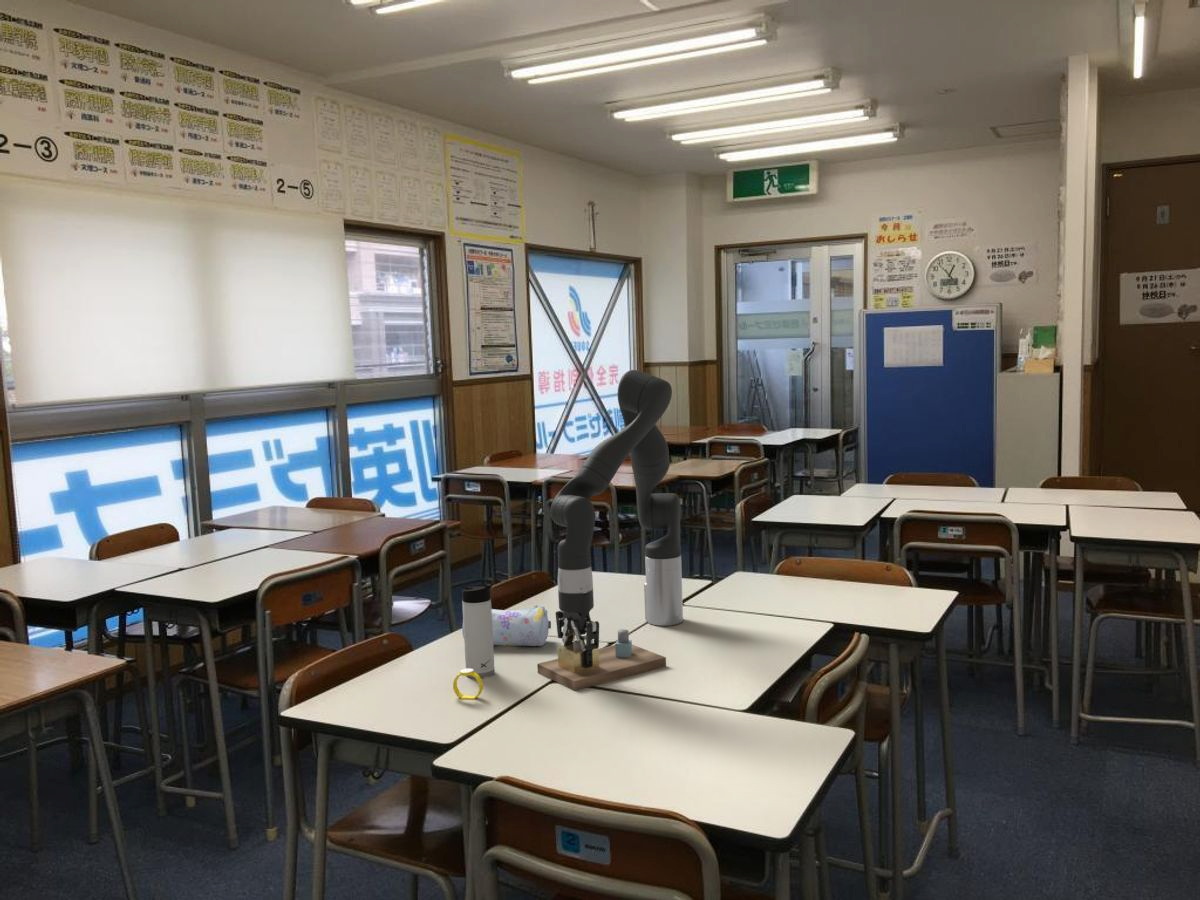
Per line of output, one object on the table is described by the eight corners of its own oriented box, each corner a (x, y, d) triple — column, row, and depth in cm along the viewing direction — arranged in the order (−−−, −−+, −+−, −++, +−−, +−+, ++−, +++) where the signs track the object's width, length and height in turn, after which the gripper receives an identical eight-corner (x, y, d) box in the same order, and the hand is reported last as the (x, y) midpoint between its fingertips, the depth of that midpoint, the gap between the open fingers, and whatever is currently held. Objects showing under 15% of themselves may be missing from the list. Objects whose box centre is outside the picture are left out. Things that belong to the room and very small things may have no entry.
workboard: (537, 672, 210) (536, 639, 209) (626, 650, 223) (625, 619, 222) (574, 690, 197) (573, 655, 197) (666, 666, 211) (665, 632, 210)
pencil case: (552, 639, 235) (550, 601, 234) (545, 650, 226) (543, 611, 225) (469, 639, 238) (467, 602, 237) (459, 650, 229) (457, 611, 228)
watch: (453, 701, 195) (449, 673, 194) (458, 696, 197) (454, 668, 197) (481, 700, 193) (477, 671, 193) (485, 695, 196) (482, 667, 196)
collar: (558, 665, 208) (557, 647, 207) (583, 659, 211) (582, 642, 211) (574, 673, 202) (573, 654, 202) (599, 666, 206) (598, 648, 205)
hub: (615, 657, 212) (614, 632, 212) (618, 652, 215) (617, 628, 215) (629, 657, 211) (628, 633, 211) (632, 652, 215) (631, 628, 214)
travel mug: (491, 679, 207) (486, 588, 205) (462, 678, 208) (457, 588, 206) (499, 669, 213) (495, 581, 211) (471, 668, 214) (467, 581, 212)
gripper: (543, 584, 209) (546, 659, 210) (579, 596, 197) (582, 675, 199) (572, 579, 213) (575, 652, 215) (608, 590, 201) (611, 667, 203)
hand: (578, 663), depth 207 cm, fingers closed on collar, 6 cm apart
